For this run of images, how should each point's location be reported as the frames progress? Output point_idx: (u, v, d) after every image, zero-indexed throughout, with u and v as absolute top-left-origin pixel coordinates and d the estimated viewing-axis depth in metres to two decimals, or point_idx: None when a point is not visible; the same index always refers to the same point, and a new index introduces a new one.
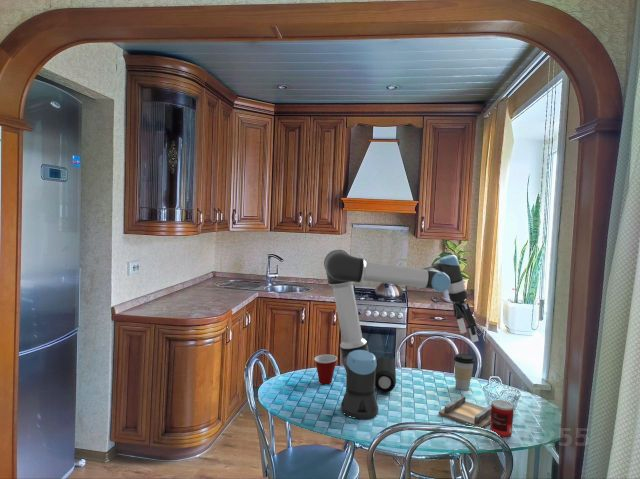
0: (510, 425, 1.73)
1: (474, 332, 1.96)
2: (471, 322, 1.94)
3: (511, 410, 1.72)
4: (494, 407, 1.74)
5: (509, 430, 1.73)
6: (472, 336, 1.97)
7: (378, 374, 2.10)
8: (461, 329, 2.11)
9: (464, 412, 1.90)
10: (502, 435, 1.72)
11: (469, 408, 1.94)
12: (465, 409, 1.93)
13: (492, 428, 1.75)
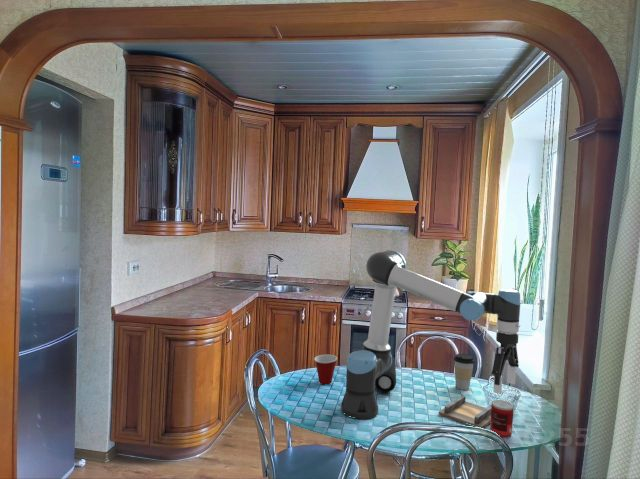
0: (510, 425, 1.73)
1: (496, 382, 1.68)
2: (495, 369, 1.67)
3: (511, 410, 1.72)
4: (494, 407, 1.74)
5: (509, 430, 1.73)
6: (495, 385, 1.70)
7: None
8: (509, 378, 1.80)
9: (464, 412, 1.90)
10: (502, 435, 1.72)
11: (469, 408, 1.94)
12: (465, 409, 1.93)
13: (492, 428, 1.75)
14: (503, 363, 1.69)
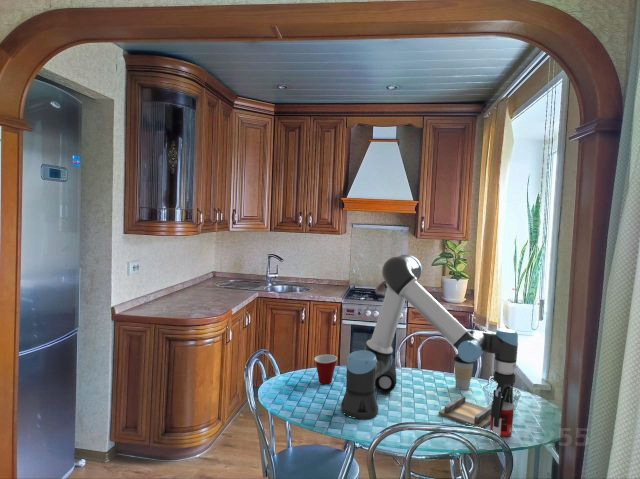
0: (510, 425, 1.73)
1: (496, 424, 1.71)
2: (493, 412, 1.70)
3: (511, 410, 1.72)
4: None
5: (509, 430, 1.73)
6: (494, 427, 1.73)
7: None
8: None
9: (464, 412, 1.90)
10: (502, 435, 1.72)
11: (469, 408, 1.94)
12: (465, 409, 1.93)
13: (492, 428, 1.75)
14: (501, 405, 1.72)
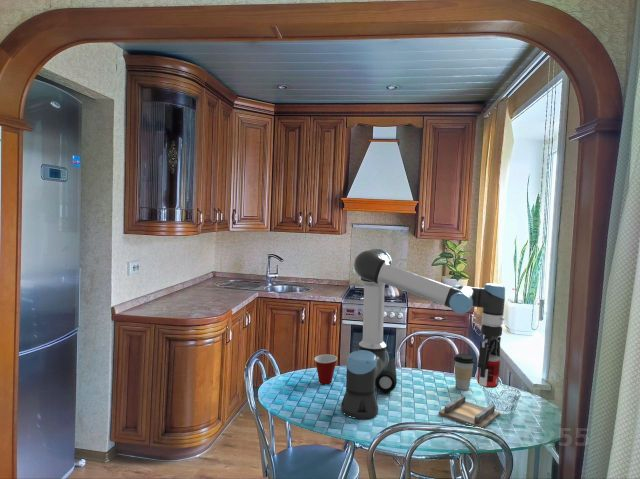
0: (496, 376, 1.78)
1: (482, 374, 1.77)
2: (480, 363, 1.76)
3: (497, 361, 1.78)
4: None
5: (495, 381, 1.78)
6: (480, 378, 1.79)
7: None
8: None
9: (464, 412, 1.90)
10: (488, 385, 1.78)
11: (469, 408, 1.94)
12: (465, 409, 1.93)
13: None
14: (488, 356, 1.77)
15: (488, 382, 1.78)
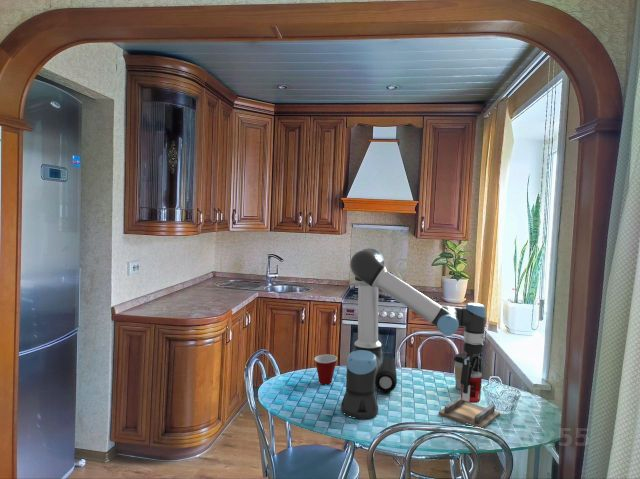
0: (478, 392, 1.87)
1: (465, 390, 1.85)
2: (462, 379, 1.84)
3: (479, 378, 1.86)
4: None
5: (477, 396, 1.87)
6: (463, 394, 1.87)
7: (379, 374, 2.10)
8: None
9: (464, 412, 1.90)
10: (471, 401, 1.86)
11: (469, 408, 1.94)
12: (465, 409, 1.93)
13: None
14: (470, 373, 1.86)
15: (471, 397, 1.86)
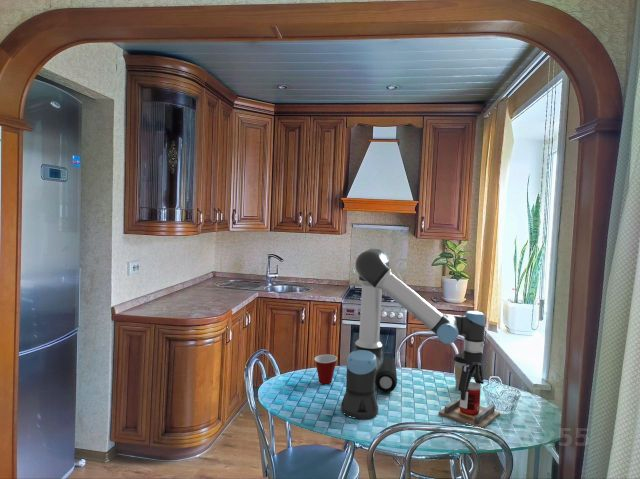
0: (477, 404, 1.87)
1: (462, 397, 1.84)
2: (461, 386, 1.83)
3: (478, 390, 1.87)
4: None
5: (476, 408, 1.87)
6: (461, 400, 1.86)
7: (379, 374, 2.10)
8: None
9: None
10: (470, 413, 1.87)
11: None
12: None
13: (461, 407, 1.89)
14: (468, 380, 1.85)
15: (470, 410, 1.87)
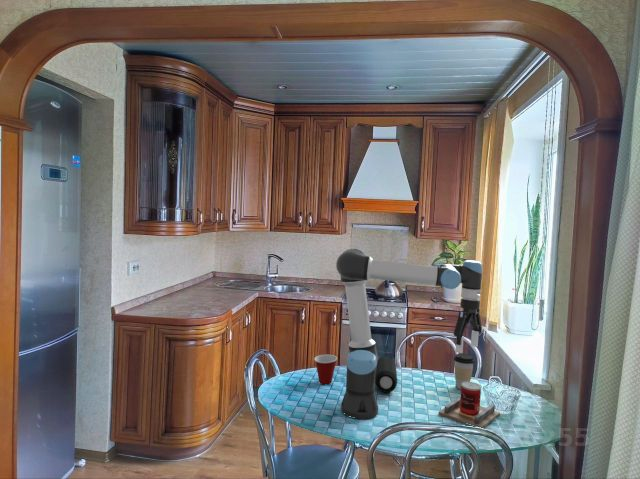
0: (477, 404, 1.87)
1: (458, 342, 1.88)
2: (456, 330, 1.87)
3: (478, 390, 1.87)
4: (463, 388, 1.88)
5: (476, 409, 1.87)
6: (457, 346, 1.90)
7: (379, 374, 2.09)
8: (472, 341, 1.99)
9: None
10: (470, 413, 1.87)
11: None
12: None
13: (461, 407, 1.89)
14: (464, 326, 1.89)
15: (470, 410, 1.87)
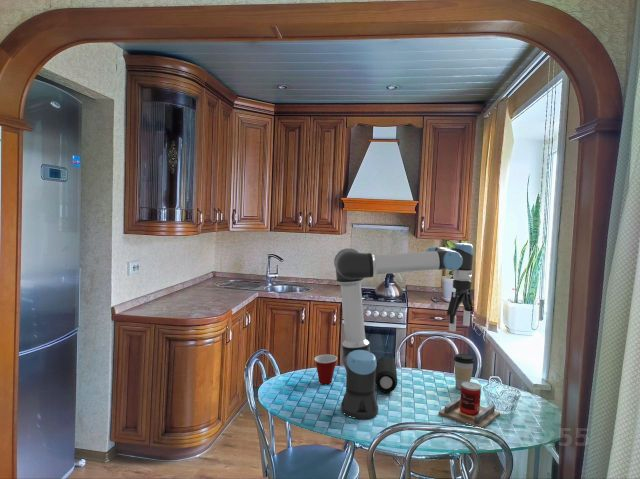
0: (477, 404, 1.87)
1: (451, 321, 1.97)
2: (449, 309, 1.96)
3: (478, 390, 1.87)
4: (463, 388, 1.88)
5: (476, 409, 1.87)
6: (450, 324, 1.98)
7: (380, 374, 2.09)
8: (464, 321, 2.08)
9: None
10: (470, 413, 1.87)
11: None
12: None
13: (461, 407, 1.89)
14: (457, 305, 1.98)
15: (470, 410, 1.87)
